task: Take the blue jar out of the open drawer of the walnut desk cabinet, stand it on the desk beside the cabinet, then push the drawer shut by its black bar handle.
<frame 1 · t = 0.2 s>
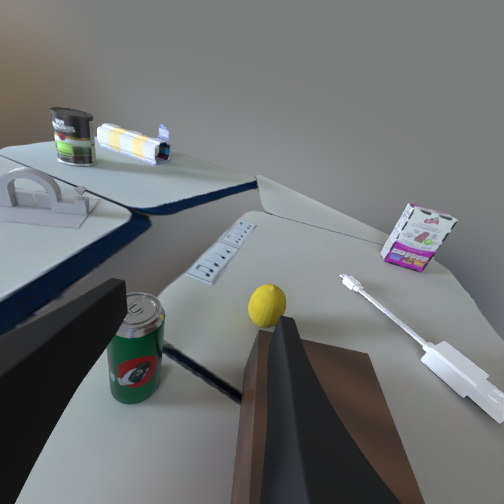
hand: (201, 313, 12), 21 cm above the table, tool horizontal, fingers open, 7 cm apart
candy bar box: (399, 263, 73), on the table
gateway: (36, 206, 54), on the table
coffee can: (78, 161, 81), on the table
diorama: (135, 153, 102), on the table
charging cable: (402, 336, 47), on the table
lemon: (260, 325, 41), on the table
soda can: (136, 384, 29), on the table
cabinet: (299, 446, 27), on the table
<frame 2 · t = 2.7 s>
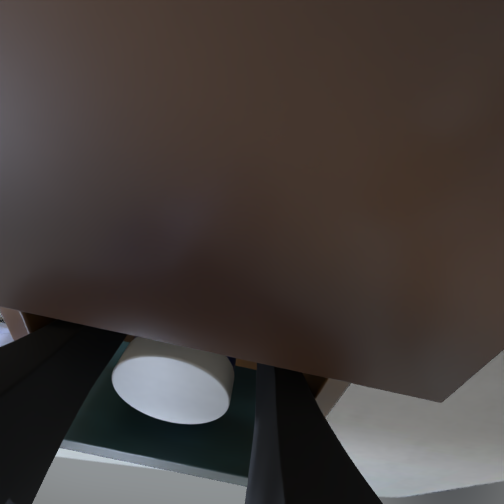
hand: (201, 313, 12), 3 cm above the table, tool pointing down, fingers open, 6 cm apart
drawer: (192, 356, 12), point 4 cm above the table, slide at 10.0 cm, touching blue jar, gripper
blue jar: (206, 298, 13), point 2 cm above the table, touching drawer
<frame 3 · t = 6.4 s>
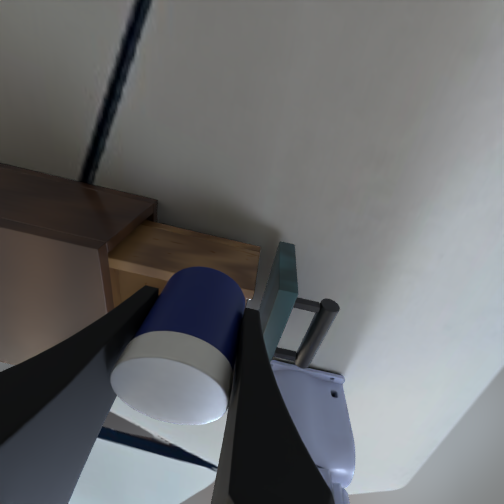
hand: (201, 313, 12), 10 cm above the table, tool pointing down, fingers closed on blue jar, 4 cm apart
drawer: (210, 312, 20), point 4 cm above the table, slide at 10.0 cm
blue jar: (205, 298, 13), point 9 cm above the table, touching gripper
cabinet: (74, 249, 23), on the table
when the fingers open (1 cm above the table, at t = 9.5 s): blue jar stays where it is, on the table.
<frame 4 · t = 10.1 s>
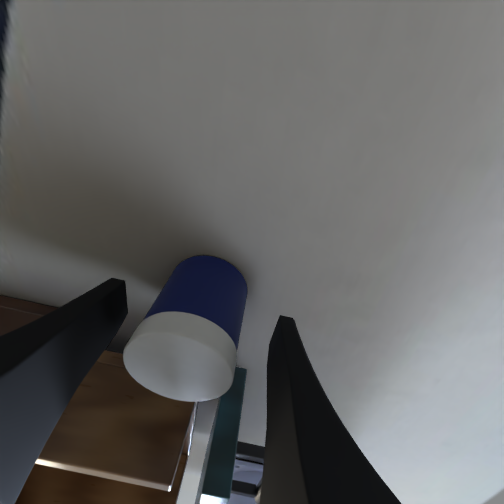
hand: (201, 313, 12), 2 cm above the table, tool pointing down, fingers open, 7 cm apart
drawer: (142, 450, 16), point 4 cm above the table, slide at 10.0 cm
blue jar: (209, 287, 13), on the table
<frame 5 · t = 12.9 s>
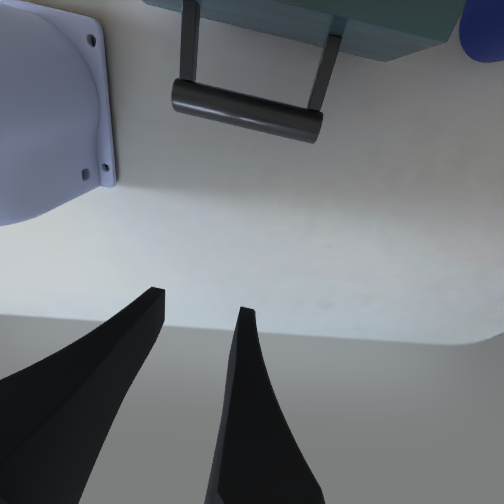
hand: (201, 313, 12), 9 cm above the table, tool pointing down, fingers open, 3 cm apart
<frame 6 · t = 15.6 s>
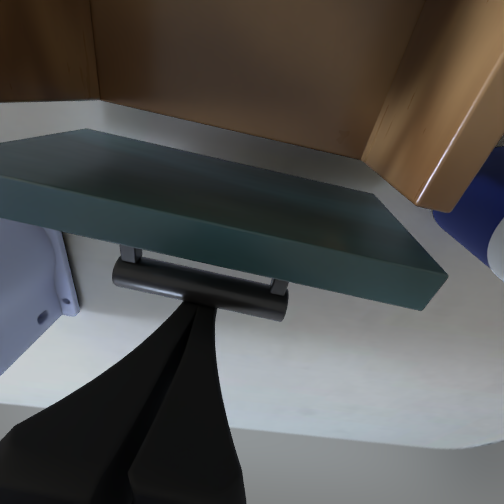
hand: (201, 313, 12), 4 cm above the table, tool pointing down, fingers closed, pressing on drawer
drawer: (235, 18, 6), point 4 cm above the table, slide at 8.9 cm, touching gripper
blue jar: (482, 194, 11), on the table
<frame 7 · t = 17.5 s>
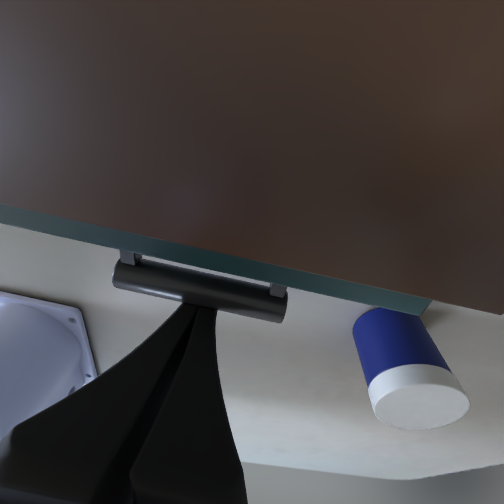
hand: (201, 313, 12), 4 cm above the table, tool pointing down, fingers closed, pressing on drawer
drawer: (234, 21, 6), point 4 cm above the table, slide at 0.0 cm, touching cabinet, gripper
blue jar: (385, 329, 16), on the table
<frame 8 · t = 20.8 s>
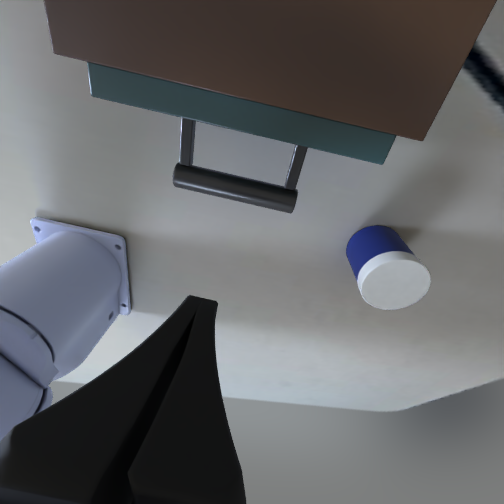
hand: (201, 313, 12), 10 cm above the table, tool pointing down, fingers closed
blue jar: (372, 247, 20), on the table
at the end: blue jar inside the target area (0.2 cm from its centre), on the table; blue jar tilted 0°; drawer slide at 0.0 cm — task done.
